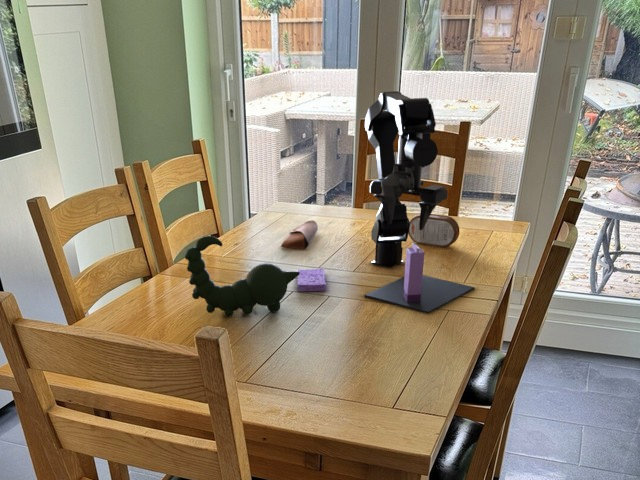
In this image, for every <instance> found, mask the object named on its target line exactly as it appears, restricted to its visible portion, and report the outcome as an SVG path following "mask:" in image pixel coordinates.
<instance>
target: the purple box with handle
mask: <svg viewBox="0 0 640 480" xmlns="http://www.w3.org/2000/svg"><path fill="white" fill-rule="evenodd" d="M425 255H426V254H425V251H424V250H423V249H422V248H421V247H419V246H418V245H417V243H416V242H412V243H411V247H406V253H405V264H404V265H405V266H404V276H403V277H404V290H403V297H404V298H405V300H406V302H420V300H421V288H422V277H423V275H424V264H425Z"/></svg>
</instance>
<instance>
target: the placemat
mask: <svg viewBox="0 0 640 480" xmlns="http://www.w3.org/2000/svg"><path fill="white" fill-rule="evenodd" d="M404 277H405V276H403V277H401V278H398V279H396V280H394V281H392V282H390V283H388V284H385V285H383V286H381V287H378V288H377V289H374V290H372V291H370V292H368V293H366V294H364V298H368V299H372V300H374V301H375V300H376V301H379V302H383V303H387V304H390V305H394V306H398V307H402V308H405V309H409V310H413V311H417V312H420V313H424V314H428V315H429V314H430V313H432V312H434V311H436V310H438V309H440V308H442V307H444V306H446V305H447V304H449V303H451V302H453V301H455V300H457V299H458V298H460V297H462V296H464V295H467V294H468V293H470V292H472V291H474V290H475V286H471V285H467V284H462V283H458V282H454V281H449V280H445V279H442V278H437V277H433V276H429V275H424V274H423V277H422V288H421V300H420V302H406V300H405V298H404V297H403V290H404Z"/></svg>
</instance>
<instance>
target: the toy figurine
mask: <svg viewBox="0 0 640 480" xmlns="http://www.w3.org/2000/svg"><path fill="white" fill-rule="evenodd" d="M212 245H215V246H219V247H223V242H222V241H221V240H220V239H219V238H217V237H216V236H213V235H205V236H202V237H200V238H199V239H197V241H196V244H195V246H191V247H189V248H188V249H187V250H186V251H185V255H184V258H185V260H186V261H188V262H187V267H186V270H187V272H188V273H189V272H190V273H191V274H190V279H189V281H188V282H189V285H191V286H195V287H194V288H193V290H192V294H191V296H192V298H193V299H194V300H198V299H200V298H201V299H204V301H205V303H206V304H207V305H206V307H205V308H206V309H205V310H206V312H207V313H210V314H212V313H214V312H215V311H216V309H219V310H221V311H222V312H223V314H224V316H226V317H227V318H228V317H229V318H230V317H232V316H233V315H234V312H236V311H238V309H239V310H240V309H241V311H242V313H243V314H244V315H249V316H250V314H252V313H253V311H254V307H255V306H256V305H258V306H261V307H267V310H268V311H269V312H270V313H277V312H279V311H280V309H281V301H282V300H283V298H284V297H285V295H286V293H287V291H288V285H289V284H290V283H291V282H292V281H294V280H295V279H296V278H298V275H299V274H300V272H298V271H293V270H292V271H288V270H287V271H286V270H283V269H282V268H280V267H279V266H278V265H276V264H274V263H270V262H264V263H260V264H258V265H255V266H254V267H253V268H251V269H250V271H248V273H249V274H248V273H247V274H248V276H247V278H246V277H245V278H246V279H245V278H240V279H238V280H236V281H235V282H234V283H233V284H223V285H222V286H220V285H217V284H215V282H214V280H212V279H211V276H210V273H209V271H208V270H207V269H206V261H205V260H204V259H203V258H202V256H203V255H202V252H203V251H205V250H206V249H207V248H208V247H210V246H212Z"/></svg>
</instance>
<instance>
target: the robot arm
mask: <svg viewBox="0 0 640 480" xmlns="http://www.w3.org/2000/svg"><path fill="white" fill-rule="evenodd" d="M436 126H437V124H436V119H435V113H434V109H433V106H432V103H431V102H430V100H429V98H428V97H418V98H417V97H416V98H415V97H414V98H411V97H409V96H406V95H404V94H402V92H401V91H398V90H395V91H393V90H392V91H383V92H381V93H379V96H378V98H377V100H376V101H374V103H373V104H372V105H371V106H369V107H368V109H367V113H366V115H365V120H364V128H365V131H366V132H367V138H368V142H369V143H370V144H371V145H372V147H373V148H374V150H375V155H376V166H377V167H376V168H377V177H378V178H377V179H374V180H372V181H371V183H370V185H369V193H370V194H373V196H374V198H376V199H378V201H379V202H380V206H379V209H378V211H377V212H376V215H375V220H374V221H375V222H374V224H373V225H372V228H371V230H370V231H371V232H370V233H371V236H370V237H371V240H372V241H373V243H375V252H374V260H372V261H371V262H370V263H371V264H372V265H374V266H379V267H383V268H388V269H392V268H394V267H397V266H399V265H402V264H404V261H405V260H403V252H404V251H403V247H402V245H403V242H404V243H405V242H407V241H408V238H409V234H408V233H409V228H410V223H409V222H410V219H409V217H408V211H407V210H408V209H407V205H406V203H402V202H401V201H400V199H399V198H401V197H402V196H403V194H405V195H411V196H416V197H419V199H420V202H418V205H419V207H420V212H419V213H420V222H419V230H423V228H424V226H425V224H426V222H427V220H428V218H429V217H430V215H431V214H433V211H434V210H435V208H436V206H437V205H438V204H440V203H442V201H445V200H447V199H448V190H447V187H446V186H443V185H437V184H432V185H428V186H425V187H423V186H424V183H425V181H424V180H422V170H423V168H425V167H428V166H430V165H432V164H433V163H434V162H435V160H436V159H437V157H438V152H439V150H438V145H437V144H436V142H435V141H434V140H433V139H431V134H435V133H436V129H435V128H436ZM397 136H398V149H397V150H398V151H397V152H398V153H397V163H396V158H395V157H396V156H395V145H394V143H395V140H396V139H397Z"/></svg>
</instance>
